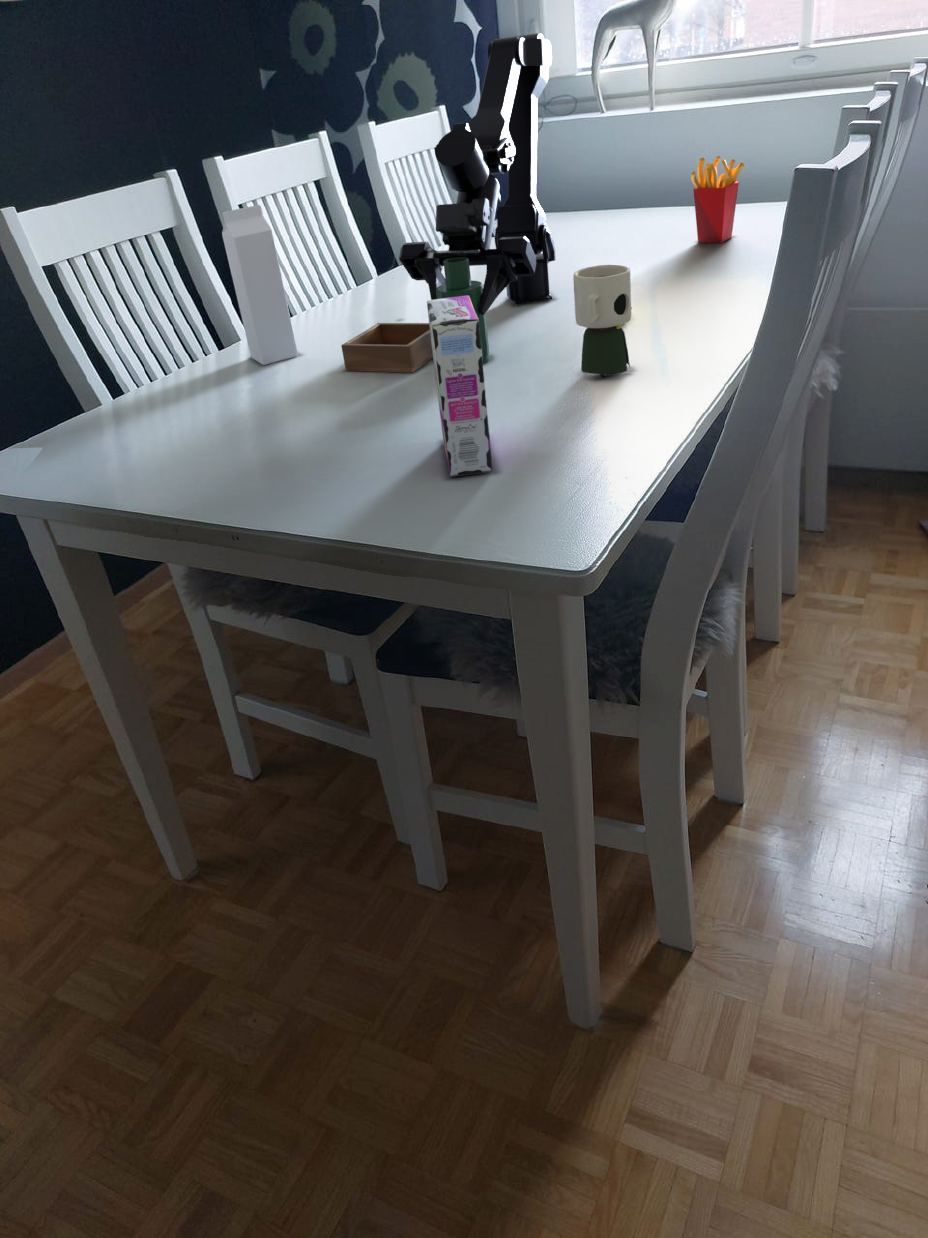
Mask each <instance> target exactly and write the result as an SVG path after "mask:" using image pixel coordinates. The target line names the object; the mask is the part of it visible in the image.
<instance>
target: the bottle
mask: <svg viewBox="0 0 928 1238" xmlns="http://www.w3.org/2000/svg"><path fill="white" fill-rule="evenodd" d="M443 263H444V266H443V271H444V277H445V280H446V284H443V285H441V286H439V287H437V288H436V296H437V299H441V298H448V297H457V296H469V297H470V300H471V302H472V305H473V308H474V310H475V313H476V315H477V317H478V319H479V329H480V339H481V350H482V360H483V365H485V364H486V363H488V362H489V361H490V358H491V357H490V345H489V336H488V325H487V315H486V313H485V314H484V315H481V313H480V300H481V296H482V291H483V286H484V284H483V283H482V281H479V280H472V277H471V268H470V267H471V266H469V259H468V258H467V257H456V258H450V259H447V260H445V261H443Z"/></svg>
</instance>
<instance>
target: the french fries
mask: <svg viewBox="0 0 928 1238" xmlns="http://www.w3.org/2000/svg"><path fill="white" fill-rule="evenodd" d="M721 159H722V157H721V156H720V155H717V156H715V159H714V160H713V162H711V163H710V162H709V163H706V164H705V157H701V158H699V159H698V164H697V169H696V171H694V170H693V171H692V172H691V175H690V179H691V182H692V184H693V185H694V188H693V189H692V190H693V201H694V211H695V212H694V213H695V222H696V234H697V243H708V244H711V243H712V244H713V243H715V244H716V243H718V244H722V243H724V242H726V241H727V240H729V239H731V238H732V236H733V228H734V222H735V215H736V208H737V207H736V206H737V198H738V193H739V184H740V181H737V179H738V176H739V174H740V173H741V171H742V169H743V168H744V167H745V163H744V162H739V163H738V164H737V166H736V167H734V165H735V164H736V159H734V158H733V159H731V160H730V162H729V163H728V164H727V161H726V159H723V160H721ZM720 162H721V163H722V165H723V167H724V171H725V172H722V173H720V174H719V175H718V166H719V163H720ZM704 164H705V167H704ZM696 173H697V174H696Z"/></svg>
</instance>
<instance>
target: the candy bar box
mask: <svg viewBox="0 0 928 1238" xmlns="http://www.w3.org/2000/svg"><path fill="white" fill-rule="evenodd" d="M426 307H427V316H428V317H427V318H428V323H429V326H430V335H431V344H432V352H433V358H432V359H433V360H432V361H433V367H434V377H435V382H436V383H435V384H436V393H437V394H436V395H437V401H438V402H437V403H438V409H439V416H440V424H441V431H442V432H441V433H442V440H443V446H444V450H445V457H446V461H447V467H448V475H449V477H452V478H453V477H463V476H470V475H477V474H480V475H481V474H487V473H491V472H493V470H494V469H493V462H492V450H491V449H492V448H491V440H490V428H489V417H488V404H487V393H486V384H485V372H484V364H483V360H482V350H481V339H480V329H479V319H478V317H477V315H476V313H475V310H474V308H473V305H472V302H471V300H470V297H469V296H457V297H448V298H441V299H435V300H431V299H429V300H426Z"/></svg>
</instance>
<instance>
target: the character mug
mask: <svg viewBox="0 0 928 1238" xmlns="http://www.w3.org/2000/svg"><path fill="white" fill-rule="evenodd" d="M631 278H632V277H631V268H630V266H627V265H622V264H599V265H593V266H587V267H584V268H580V269H578V270H576V271H574V272H573V278H572V279H573V297H574V316H575V323H576V324H577V325H578V326H579V327H583V328H586V329H585V331H584V333H583V337H582V348H581V365H580V367H581V368H580V369H581V372H582V373H586V374H590V375H592V374H593V375H599V376H600V377H602V378H603V377H605V376H608V377H610V376H615V375H621V374H623V373H625V372H627V371H628V368H631V366H630V365H631V364H630V357H629V350H628V345H627V344H628V343H627V339H626V334H625V330H624V329H623V327H622V326H623V324H626V323H628V322H630V321H631V319H632V311H633V310H632V309H631V307H632V279H631Z"/></svg>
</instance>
